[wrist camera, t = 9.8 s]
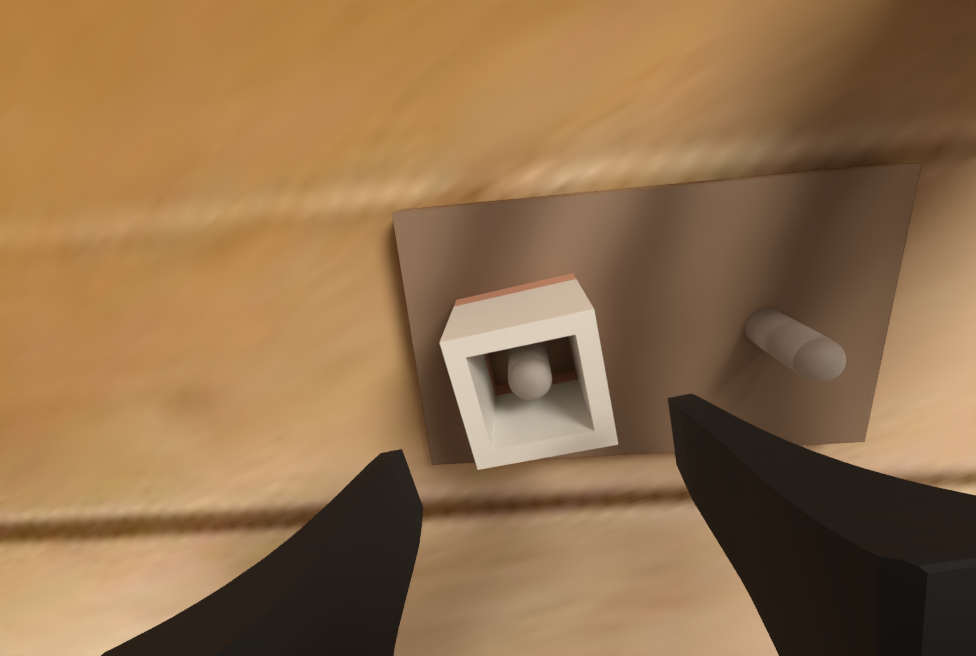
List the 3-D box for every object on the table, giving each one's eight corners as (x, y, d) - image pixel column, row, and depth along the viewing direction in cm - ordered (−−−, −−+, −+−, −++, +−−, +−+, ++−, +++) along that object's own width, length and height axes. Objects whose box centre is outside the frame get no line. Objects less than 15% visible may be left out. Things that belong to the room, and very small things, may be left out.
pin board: (889, 163, 18) (1051, 162, 13) (842, 424, 22) (950, 508, 17) (400, 209, 20) (358, 226, 14) (436, 446, 24) (415, 531, 18)
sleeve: (572, 273, 19) (594, 308, 14) (593, 380, 20) (618, 444, 16) (456, 299, 19) (439, 342, 15) (484, 401, 21) (477, 469, 16)
